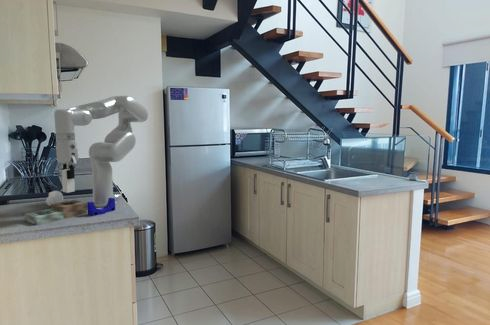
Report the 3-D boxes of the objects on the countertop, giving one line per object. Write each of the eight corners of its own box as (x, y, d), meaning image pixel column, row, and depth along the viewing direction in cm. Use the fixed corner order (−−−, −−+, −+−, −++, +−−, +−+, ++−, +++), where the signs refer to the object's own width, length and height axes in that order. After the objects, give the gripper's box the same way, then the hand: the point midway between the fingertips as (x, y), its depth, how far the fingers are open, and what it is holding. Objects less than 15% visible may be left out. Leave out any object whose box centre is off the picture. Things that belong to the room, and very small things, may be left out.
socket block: (74, 210, 164) (73, 199, 163) (86, 213, 159) (86, 202, 158) (24, 220, 145) (24, 209, 145) (37, 224, 140) (36, 212, 140)
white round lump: (46, 205, 173) (45, 190, 172) (63, 203, 176) (63, 188, 175) (45, 208, 166) (44, 193, 165) (63, 207, 169) (62, 191, 168)
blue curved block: (93, 216, 154) (92, 203, 153) (87, 214, 157) (87, 202, 156) (117, 211, 163) (116, 198, 163) (111, 209, 166) (111, 197, 165)
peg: (70, 190, 158) (69, 168, 157) (75, 191, 156) (73, 169, 155) (62, 191, 155) (61, 169, 154) (67, 192, 153) (65, 170, 152)
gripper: (84, 137, 151) (86, 178, 154) (63, 136, 160) (65, 175, 163) (67, 138, 145) (70, 181, 148) (46, 137, 154) (49, 177, 156)
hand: (68, 177), depth 155 cm, fingers closed on peg, 3 cm apart
